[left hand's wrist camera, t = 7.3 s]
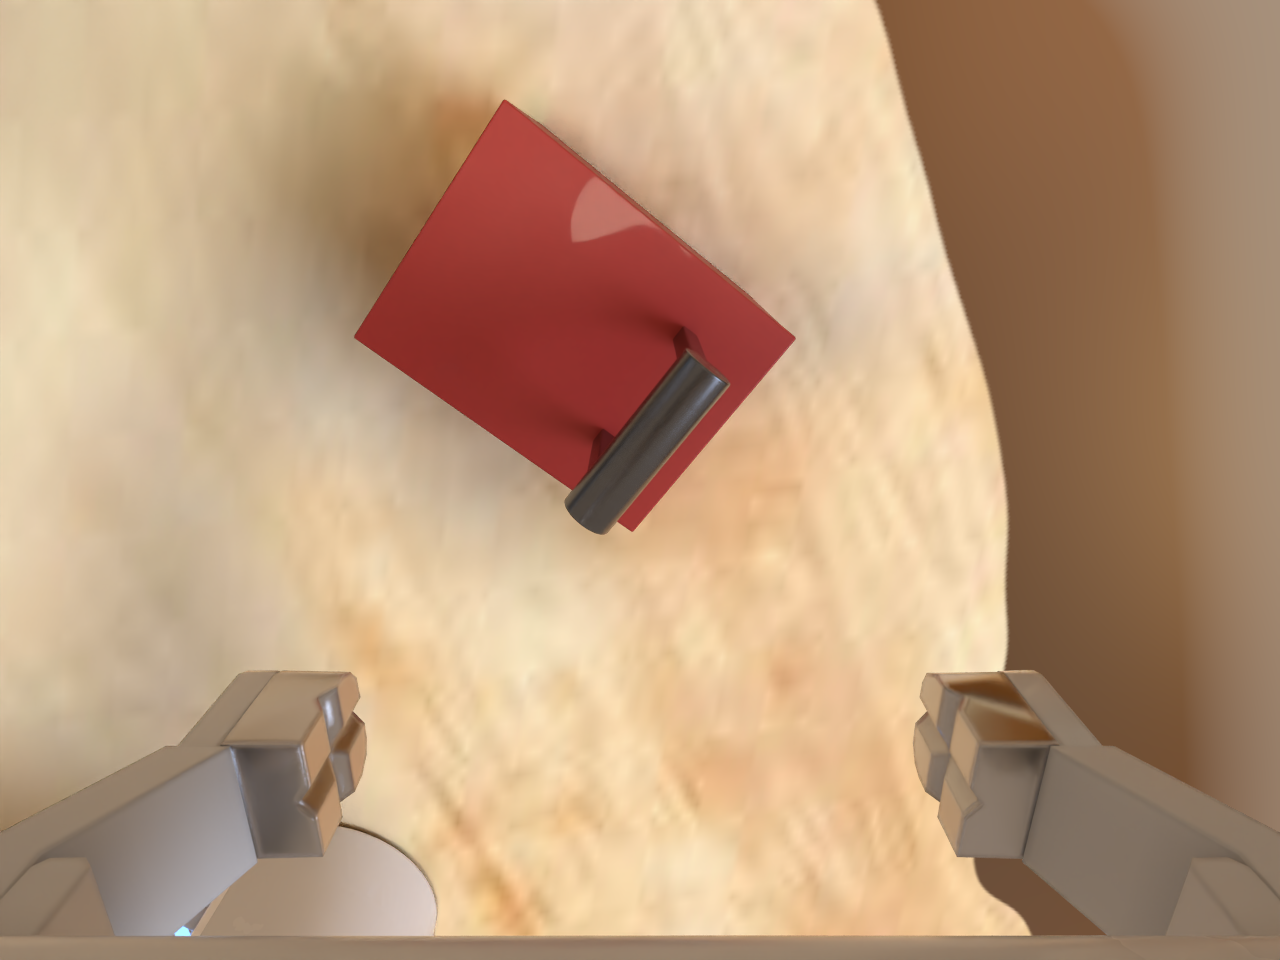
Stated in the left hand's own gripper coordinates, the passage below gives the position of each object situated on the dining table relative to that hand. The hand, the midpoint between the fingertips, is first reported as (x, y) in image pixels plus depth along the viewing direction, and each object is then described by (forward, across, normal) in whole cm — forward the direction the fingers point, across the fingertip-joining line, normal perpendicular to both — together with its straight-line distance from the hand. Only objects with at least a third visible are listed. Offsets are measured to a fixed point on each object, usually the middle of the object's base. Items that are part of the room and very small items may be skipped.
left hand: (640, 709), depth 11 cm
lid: (+20, +2, -2) cm, 20 cm away
